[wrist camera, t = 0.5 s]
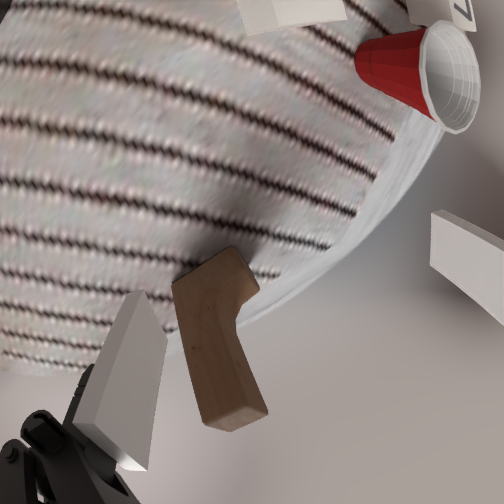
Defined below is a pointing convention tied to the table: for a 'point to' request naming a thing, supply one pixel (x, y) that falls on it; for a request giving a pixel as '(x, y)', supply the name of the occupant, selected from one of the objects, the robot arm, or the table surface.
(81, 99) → the table surface
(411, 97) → the plastic cup
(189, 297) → the wooden block
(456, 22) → the marked block 7
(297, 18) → the marked block 1
